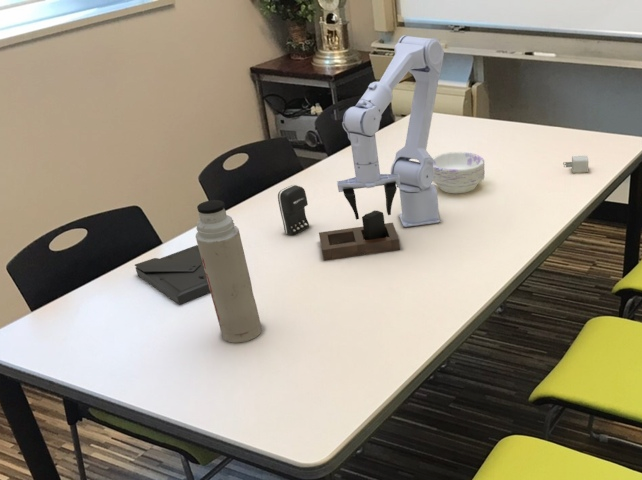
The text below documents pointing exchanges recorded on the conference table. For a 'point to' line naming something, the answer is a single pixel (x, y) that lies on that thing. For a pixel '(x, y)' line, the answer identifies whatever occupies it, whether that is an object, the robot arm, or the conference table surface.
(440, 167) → the paper bowls
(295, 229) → the battery charger
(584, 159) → the usb wall charger
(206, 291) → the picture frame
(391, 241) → the two-well brown tray
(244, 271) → the thermos bottle
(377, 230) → the ink cartridge
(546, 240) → the conference table surface
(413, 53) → the robot arm
